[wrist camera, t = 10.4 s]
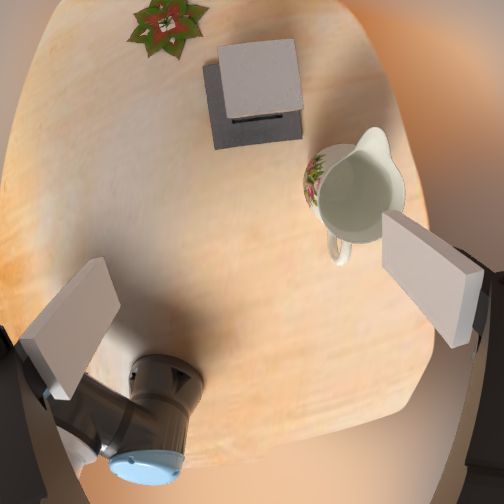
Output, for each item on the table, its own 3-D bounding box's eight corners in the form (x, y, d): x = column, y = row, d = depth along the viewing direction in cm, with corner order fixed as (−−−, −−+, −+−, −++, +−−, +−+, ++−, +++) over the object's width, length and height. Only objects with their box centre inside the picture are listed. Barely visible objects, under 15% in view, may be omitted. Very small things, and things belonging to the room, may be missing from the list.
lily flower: (184, 73, 39) (178, 68, 35) (115, 48, 37) (102, 43, 33) (224, 5, 35) (222, -6, 31) (153, -18, 33) (144, -29, 29)
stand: (215, 149, 43) (207, 156, 35) (203, 67, 39) (192, 54, 30) (301, 138, 43) (314, 143, 34) (290, 56, 38) (301, 41, 30)
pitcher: (288, 238, 49) (302, 281, 36) (303, 117, 42) (326, 117, 29) (356, 243, 49) (389, 286, 37) (375, 129, 42) (421, 137, 30)
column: (236, 119, 34) (225, 119, 18) (230, 80, 32) (215, 45, 16) (277, 114, 34) (305, 110, 18) (272, 75, 32) (295, 36, 16)
